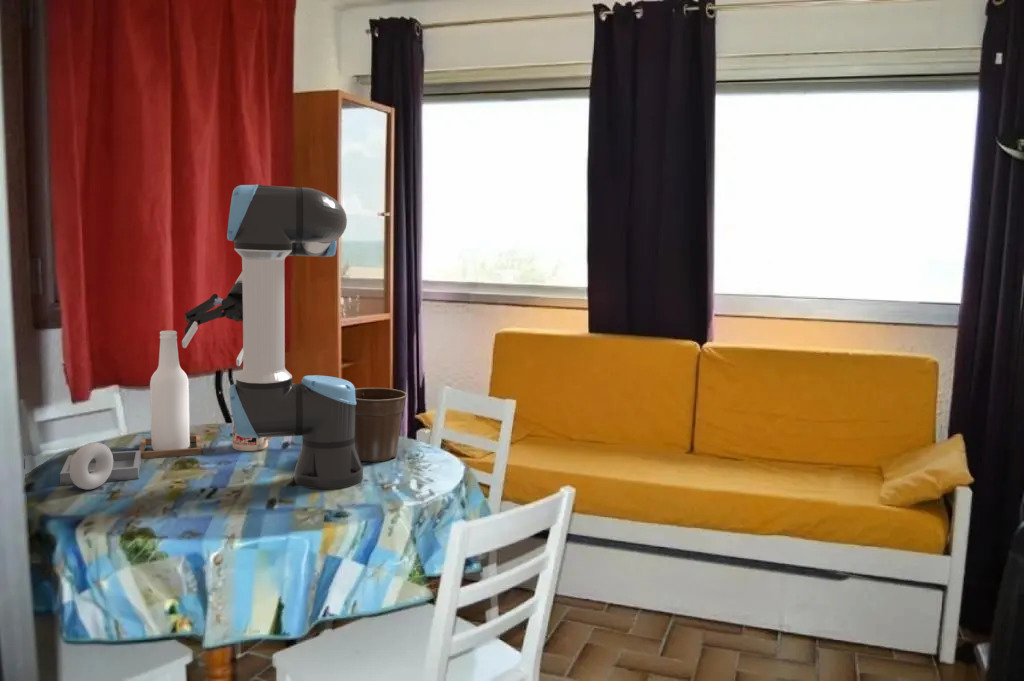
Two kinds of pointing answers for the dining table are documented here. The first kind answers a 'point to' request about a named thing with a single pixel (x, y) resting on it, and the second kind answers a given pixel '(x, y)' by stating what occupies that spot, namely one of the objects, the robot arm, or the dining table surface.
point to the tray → (123, 467)
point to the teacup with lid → (248, 442)
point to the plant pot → (378, 422)
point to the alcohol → (169, 398)
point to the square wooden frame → (170, 452)
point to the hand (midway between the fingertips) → (210, 354)
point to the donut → (82, 461)
